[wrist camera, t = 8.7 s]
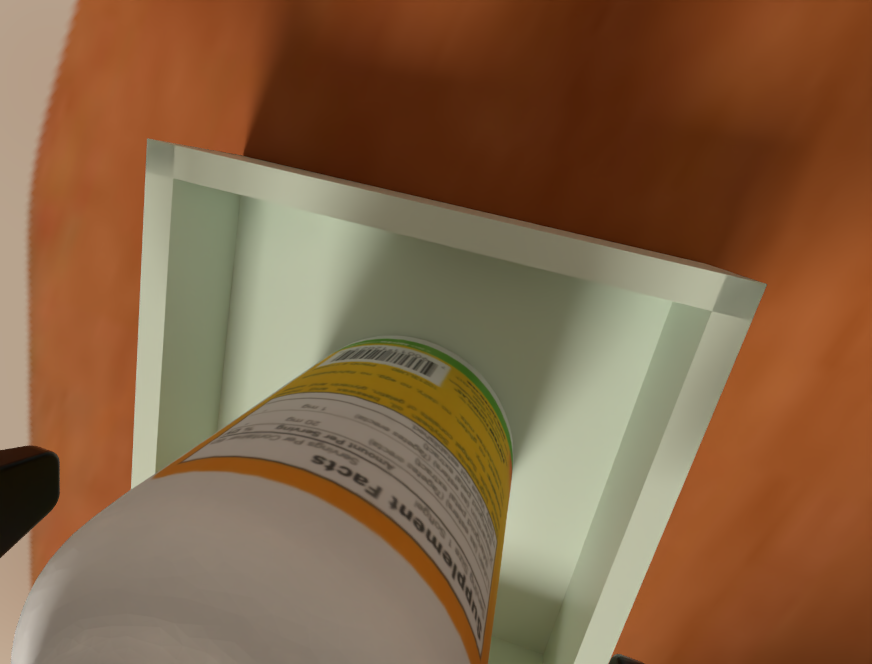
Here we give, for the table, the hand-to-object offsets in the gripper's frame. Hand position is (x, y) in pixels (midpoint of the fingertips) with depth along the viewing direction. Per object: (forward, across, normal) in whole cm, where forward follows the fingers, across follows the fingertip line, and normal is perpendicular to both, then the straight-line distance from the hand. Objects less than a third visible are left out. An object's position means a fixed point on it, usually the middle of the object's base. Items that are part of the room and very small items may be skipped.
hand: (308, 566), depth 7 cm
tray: (+6, 0, 0) cm, 6 cm away
